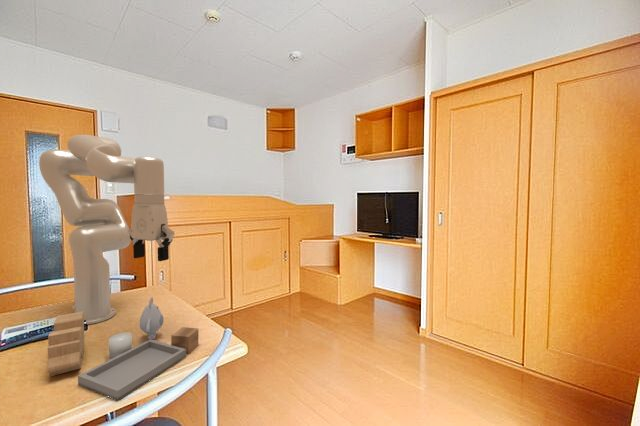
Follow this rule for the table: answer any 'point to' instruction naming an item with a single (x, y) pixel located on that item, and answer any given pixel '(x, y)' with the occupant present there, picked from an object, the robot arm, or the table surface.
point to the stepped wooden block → (66, 344)
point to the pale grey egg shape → (119, 344)
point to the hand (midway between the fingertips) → (151, 258)
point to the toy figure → (151, 320)
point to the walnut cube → (185, 339)
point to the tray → (131, 369)
